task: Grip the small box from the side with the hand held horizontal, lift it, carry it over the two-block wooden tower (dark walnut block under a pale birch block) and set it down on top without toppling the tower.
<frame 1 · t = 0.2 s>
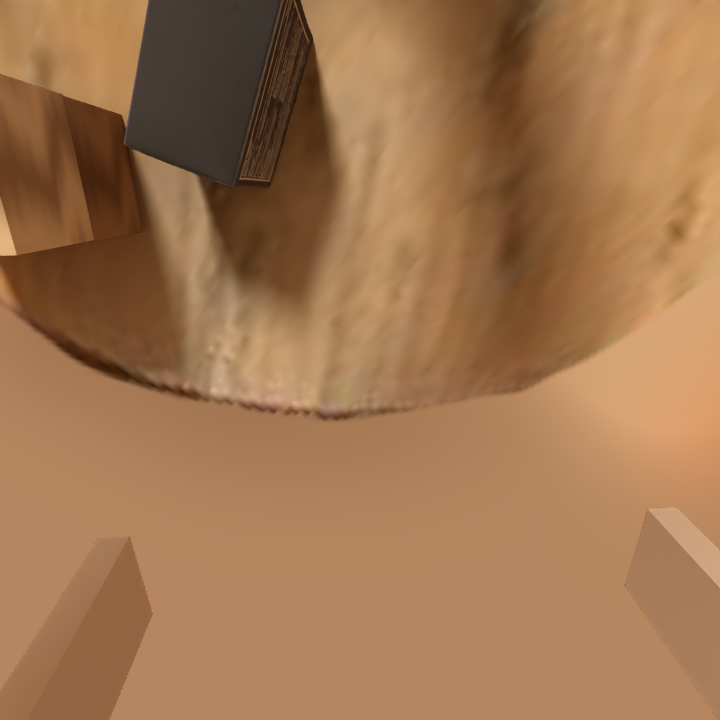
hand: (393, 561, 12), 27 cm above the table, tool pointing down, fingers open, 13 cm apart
tower base: (51, 176, 33), on the table, touching tower top
small box: (248, 99, 32), on the table
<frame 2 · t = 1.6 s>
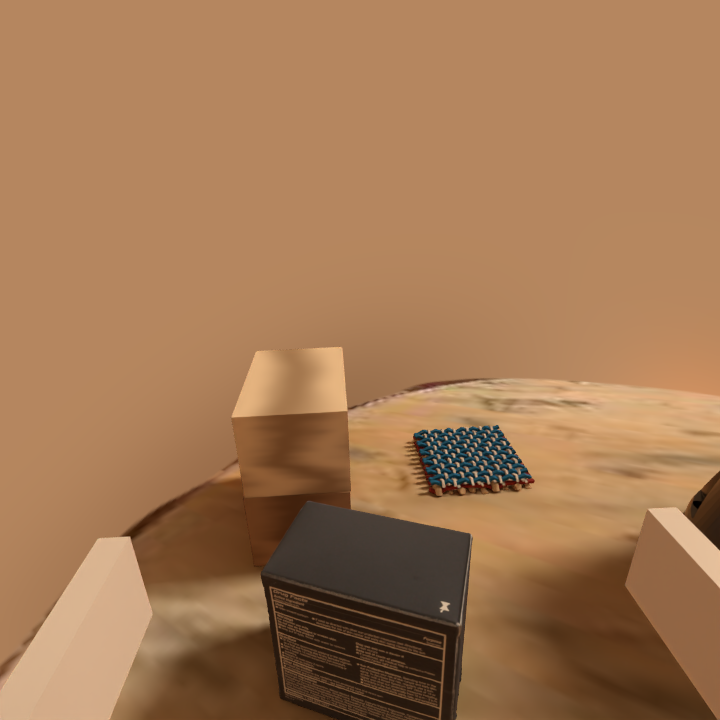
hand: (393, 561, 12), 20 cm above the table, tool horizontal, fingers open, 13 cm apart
woven mat: (468, 467, 48), on the table
tower base: (307, 511, 42), on the table, touching tower top
tower top: (302, 448, 39), point 7 cm above the table, touching tower base
small box: (374, 675, 28), on the table
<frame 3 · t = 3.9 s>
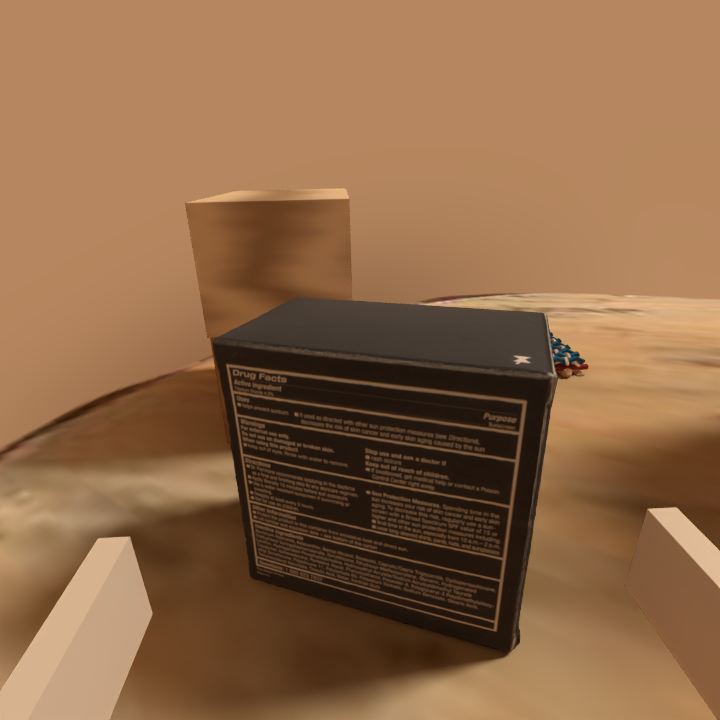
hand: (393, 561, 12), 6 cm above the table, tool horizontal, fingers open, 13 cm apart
woven mat: (501, 362, 39), on the table
tower base: (300, 396, 33), on the table, touching tower top
tower top: (291, 304, 30), point 7 cm above the table, touching tower base
small box: (390, 554, 19), on the table
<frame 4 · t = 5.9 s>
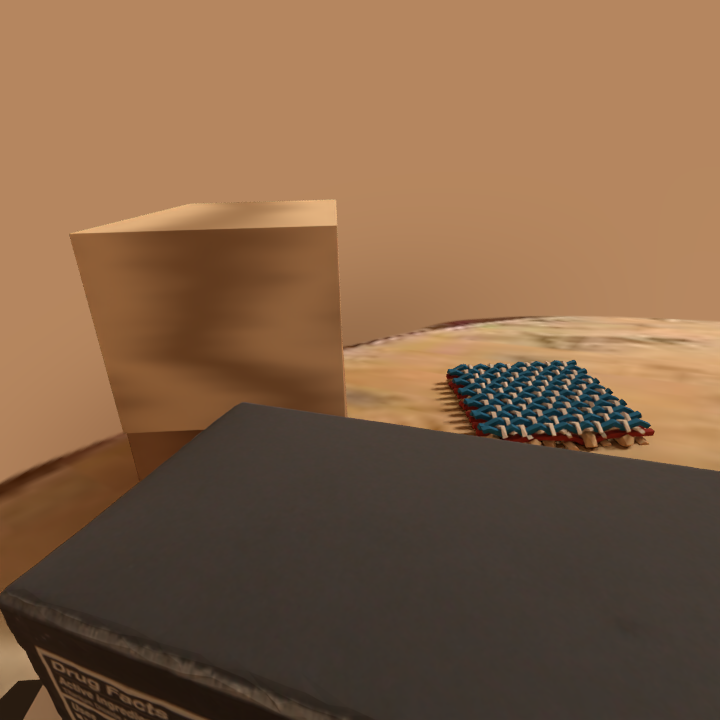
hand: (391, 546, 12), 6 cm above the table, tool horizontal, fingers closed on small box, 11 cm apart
woven mat: (534, 416, 31), on the table
tower base: (275, 478, 25), on the table, touching tower top
tower top: (260, 362, 22), point 7 cm above the table, touching tower base
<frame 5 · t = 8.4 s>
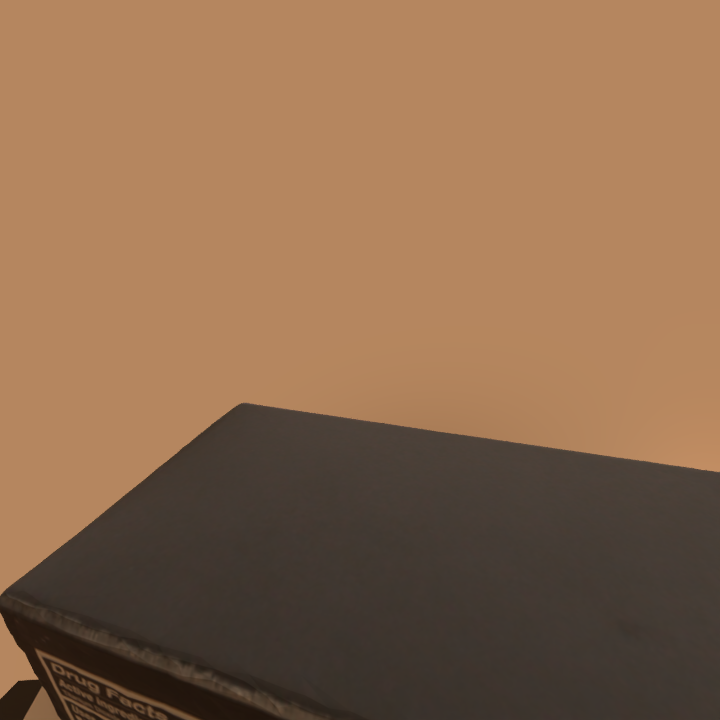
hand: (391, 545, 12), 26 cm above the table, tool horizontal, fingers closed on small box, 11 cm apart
when the fingers open (21 cm above the table, at t = 10.9 s): small box drops 2 cm, resting on tower top.
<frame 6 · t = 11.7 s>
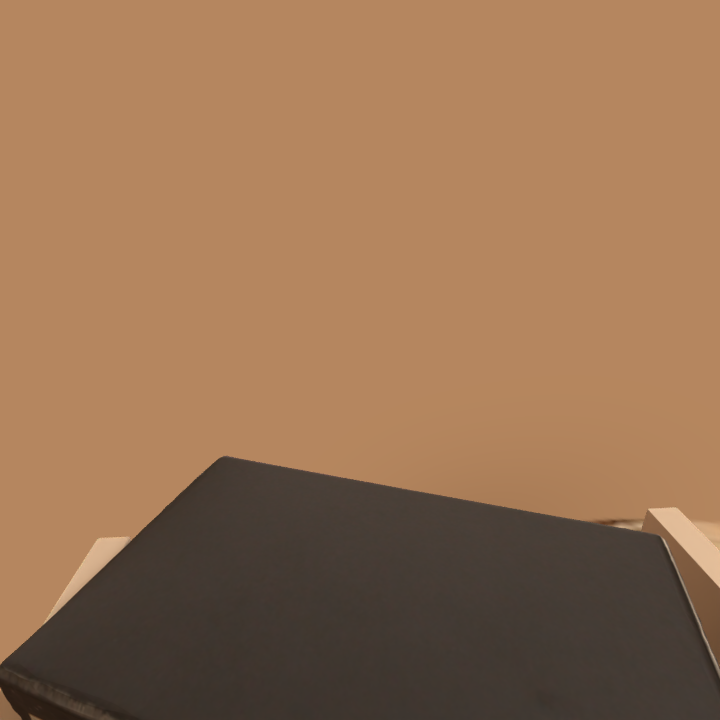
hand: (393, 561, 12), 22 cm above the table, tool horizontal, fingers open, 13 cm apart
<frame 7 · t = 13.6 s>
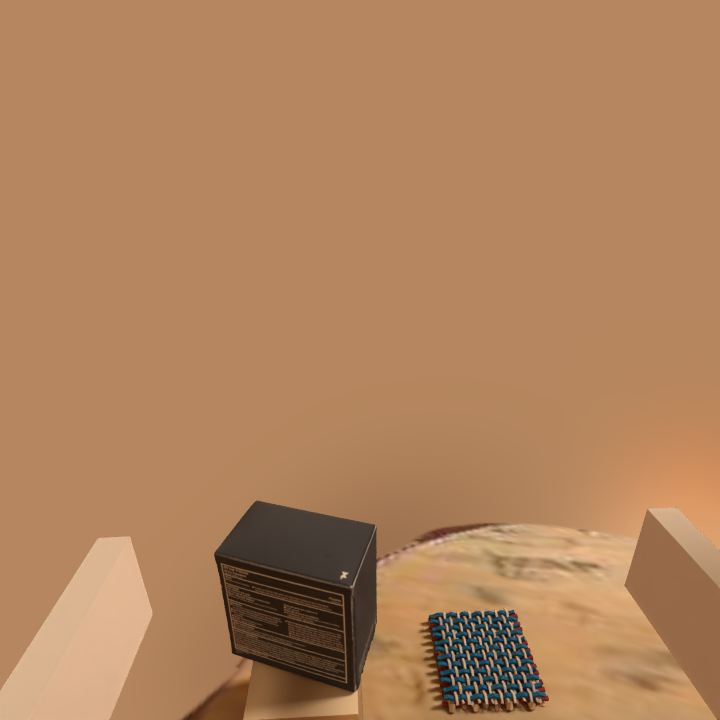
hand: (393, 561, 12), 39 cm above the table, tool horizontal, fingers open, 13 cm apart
woven mat: (482, 663, 49), on the table
tower top: (311, 688, 39), point 7 cm above the table, touching small box, tower base
small box: (307, 637, 37), point 14 cm above the table, touching tower top
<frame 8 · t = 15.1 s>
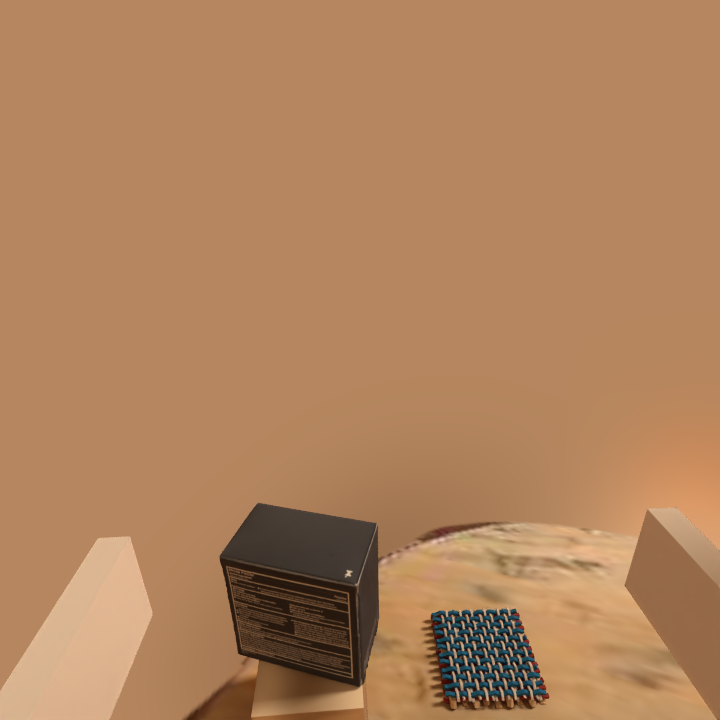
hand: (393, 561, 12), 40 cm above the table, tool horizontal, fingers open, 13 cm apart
woven mat: (484, 661, 49), on the table
tower top: (316, 685, 40), point 7 cm above the table, touching small box, tower base
small box: (311, 635, 37), point 14 cm above the table, touching tower top
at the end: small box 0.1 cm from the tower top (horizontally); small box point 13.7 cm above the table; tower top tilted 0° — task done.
